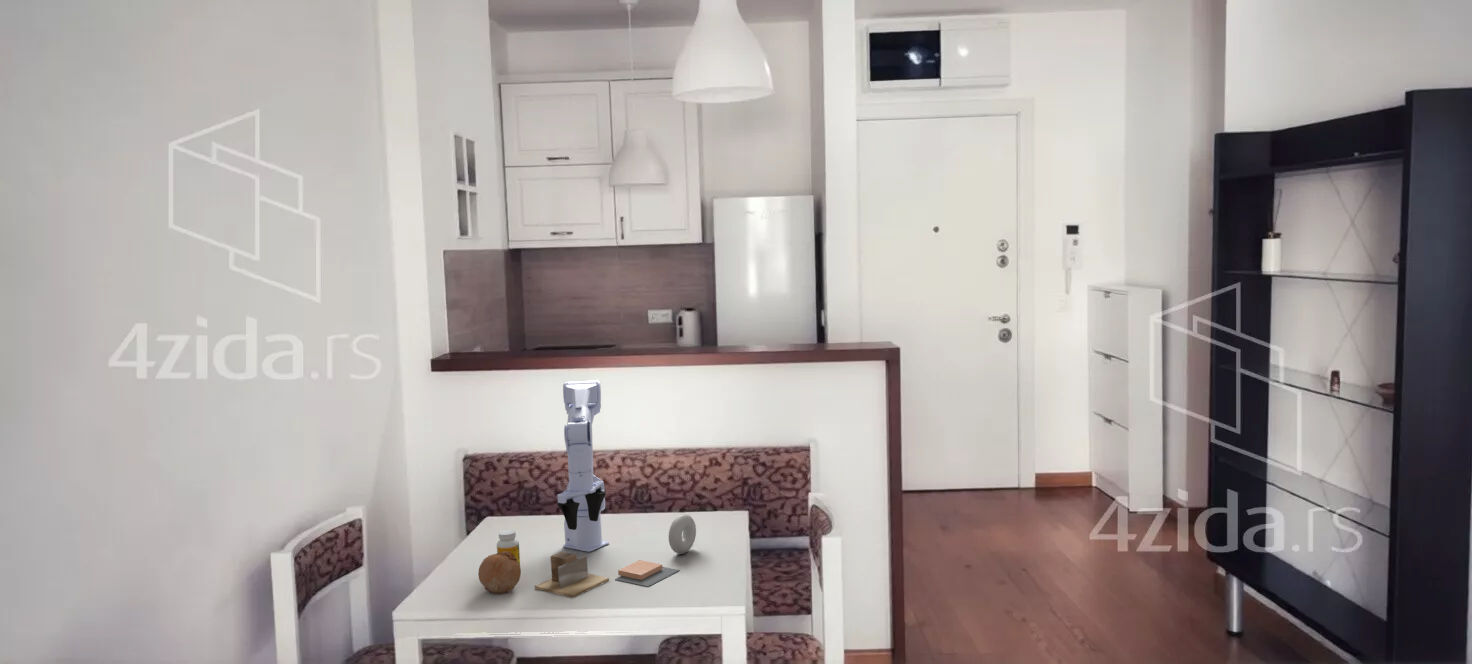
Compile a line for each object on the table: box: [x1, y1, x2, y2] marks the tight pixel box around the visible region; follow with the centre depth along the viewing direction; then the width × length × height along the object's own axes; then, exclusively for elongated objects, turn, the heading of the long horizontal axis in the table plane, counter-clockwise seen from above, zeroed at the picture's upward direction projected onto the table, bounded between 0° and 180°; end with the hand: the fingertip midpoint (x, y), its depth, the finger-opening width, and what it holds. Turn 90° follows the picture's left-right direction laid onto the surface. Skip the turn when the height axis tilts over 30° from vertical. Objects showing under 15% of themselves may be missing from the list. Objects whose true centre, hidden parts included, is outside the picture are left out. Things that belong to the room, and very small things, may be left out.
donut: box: [668, 513, 697, 555], centre depth 233 cm, size 10×4×10 cm, turn 150°
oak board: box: [534, 573, 610, 598], centre depth 214 cm, size 12×12×1 cm
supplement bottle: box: [496, 529, 521, 566], centre depth 225 cm, size 5×5×10 cm
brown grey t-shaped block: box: [550, 551, 589, 589], centre depth 215 cm, size 6×9×6 cm, turn 147°
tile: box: [617, 559, 663, 580], centre depth 220 cm, size 1×8×7 cm
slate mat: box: [614, 566, 680, 588], centre depth 218 cm, size 10×12×1 cm
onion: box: [478, 551, 522, 595], centre depth 211 cm, size 10×9×10 cm
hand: (583, 524), depth 226 cm, fingers open, 7 cm apart
